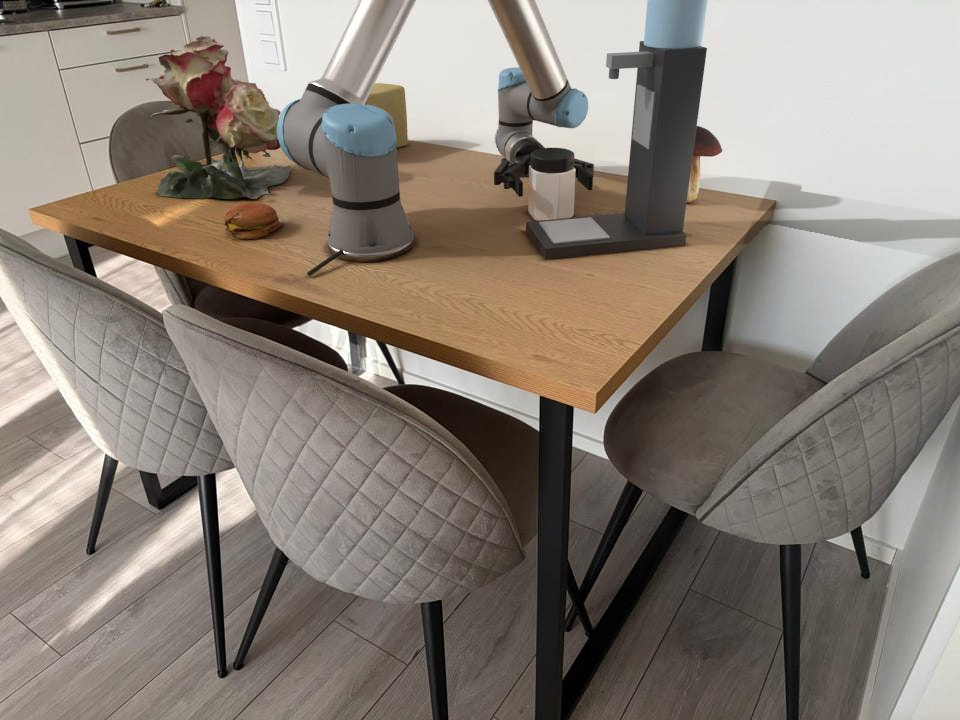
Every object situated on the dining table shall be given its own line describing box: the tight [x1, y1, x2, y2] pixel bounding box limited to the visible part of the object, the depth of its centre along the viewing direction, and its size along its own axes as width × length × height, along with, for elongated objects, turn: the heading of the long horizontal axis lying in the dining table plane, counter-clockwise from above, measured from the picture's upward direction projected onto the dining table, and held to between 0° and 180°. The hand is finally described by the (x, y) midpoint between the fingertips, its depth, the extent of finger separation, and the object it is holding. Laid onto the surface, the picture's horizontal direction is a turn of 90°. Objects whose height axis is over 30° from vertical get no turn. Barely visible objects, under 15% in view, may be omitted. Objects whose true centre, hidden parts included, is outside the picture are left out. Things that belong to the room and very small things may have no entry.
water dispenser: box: [525, 0, 708, 260], centre depth 120 cm, size 26×13×45 cm, turn 102°
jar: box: [527, 147, 576, 221], centre depth 139 cm, size 9×8×12 cm
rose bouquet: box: [145, 35, 292, 200], centre depth 157 cm, size 26×29×30 cm
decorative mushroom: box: [687, 125, 723, 203], centre depth 143 cm, size 11×11×15 cm
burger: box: [222, 201, 281, 240], centre depth 137 cm, size 10×9×5 cm
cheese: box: [365, 82, 409, 148], centre depth 178 cm, size 22×10×15 cm, turn 146°
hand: (556, 186), depth 137 cm, fingers open, 13 cm apart
